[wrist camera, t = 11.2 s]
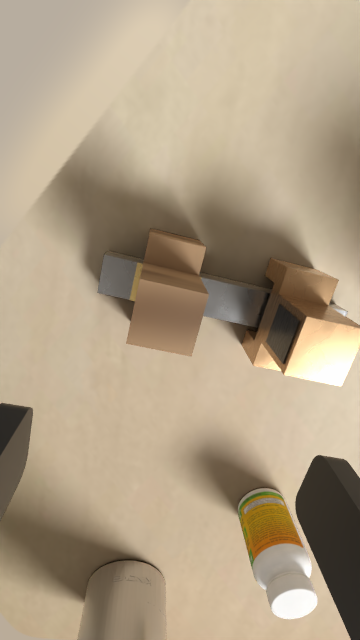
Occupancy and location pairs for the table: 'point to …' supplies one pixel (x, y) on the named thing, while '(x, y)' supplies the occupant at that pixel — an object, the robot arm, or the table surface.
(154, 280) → the tan stepped block
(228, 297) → the rail
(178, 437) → the table surface
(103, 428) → the table surface
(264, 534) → the supplement bottle
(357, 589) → the robot arm
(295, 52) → the table surface
